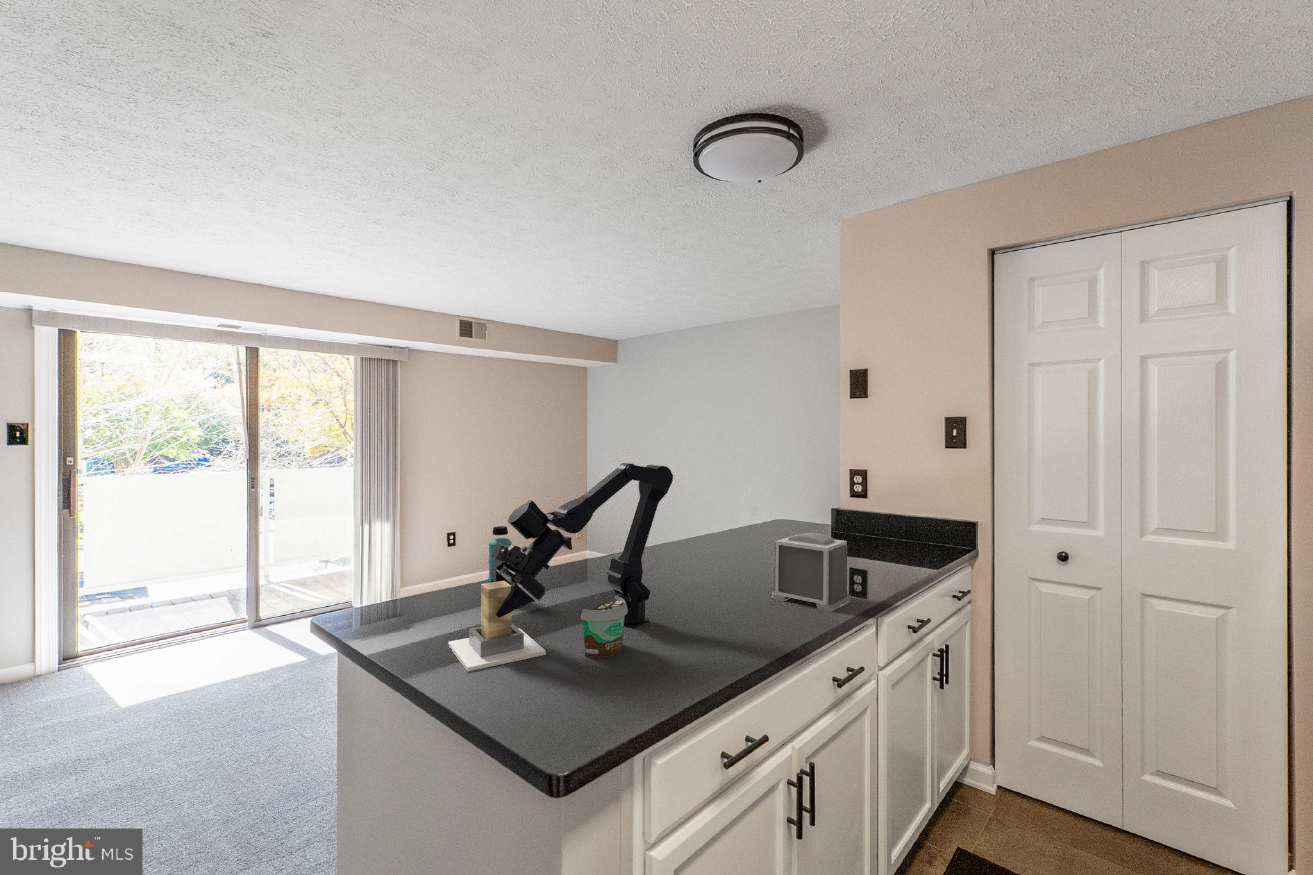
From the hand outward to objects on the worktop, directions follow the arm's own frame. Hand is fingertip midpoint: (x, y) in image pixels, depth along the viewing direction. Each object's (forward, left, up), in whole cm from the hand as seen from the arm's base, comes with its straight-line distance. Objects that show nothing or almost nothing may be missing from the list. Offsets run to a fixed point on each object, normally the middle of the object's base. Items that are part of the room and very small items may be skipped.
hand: (490, 610), depth 121 cm
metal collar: (0, -1, -9) cm, 9 cm away
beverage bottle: (+30, -26, -9) cm, 40 cm away
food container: (-20, -15, -9) cm, 27 cm away
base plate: (0, -1, -9) cm, 9 cm away
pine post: (0, -1, -8) cm, 8 cm away
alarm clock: (-40, -77, -9) cm, 87 cm away
